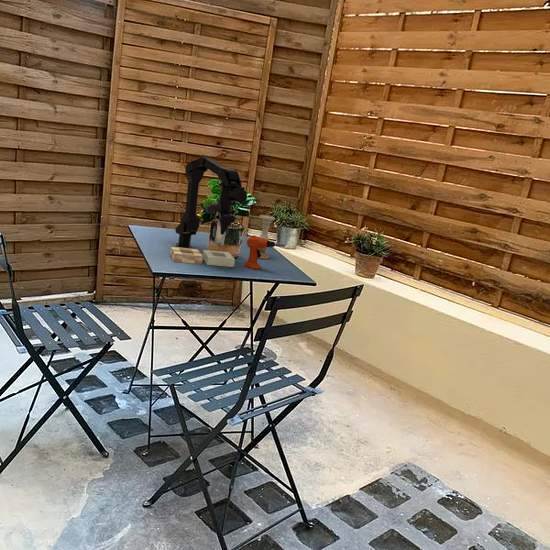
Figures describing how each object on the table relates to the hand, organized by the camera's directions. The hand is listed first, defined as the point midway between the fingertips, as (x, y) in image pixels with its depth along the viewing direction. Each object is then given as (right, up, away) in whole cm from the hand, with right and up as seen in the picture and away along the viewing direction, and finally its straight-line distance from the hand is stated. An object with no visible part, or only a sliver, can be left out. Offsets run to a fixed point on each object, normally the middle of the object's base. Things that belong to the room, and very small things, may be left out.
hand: (220, 233), depth 240 cm
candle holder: (+17, -10, +28) cm, 34 cm away
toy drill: (+18, -16, +4) cm, 24 cm away
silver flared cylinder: (-1, -5, +1) cm, 5 cm away
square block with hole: (-2, -12, +4) cm, 13 cm away
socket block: (-15, -11, -1) cm, 19 cm away
